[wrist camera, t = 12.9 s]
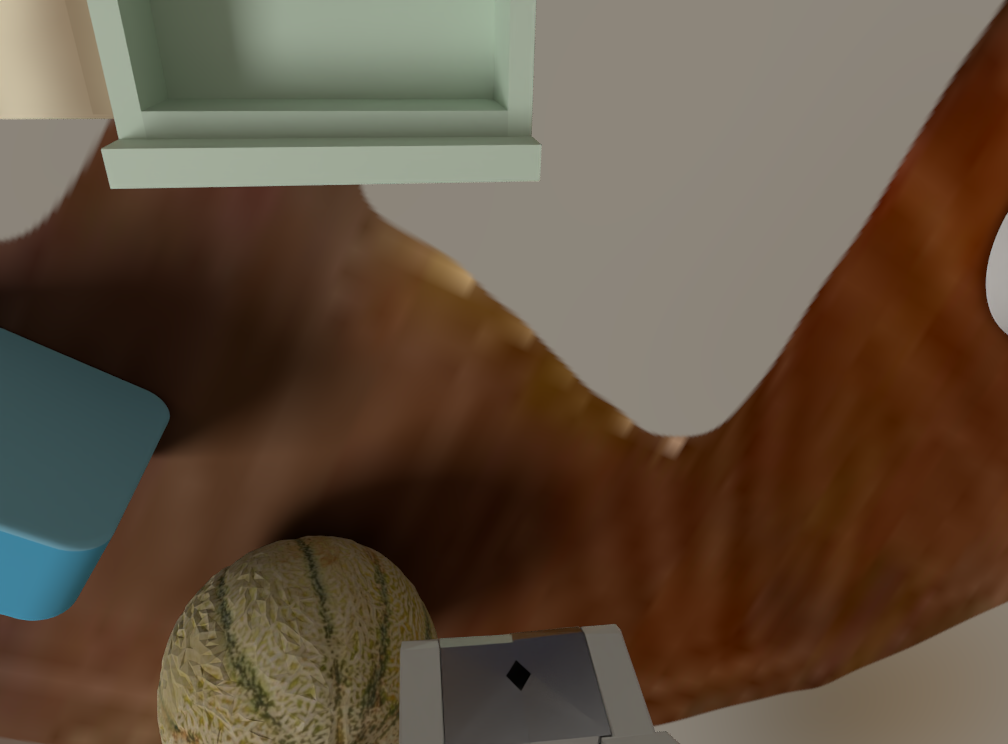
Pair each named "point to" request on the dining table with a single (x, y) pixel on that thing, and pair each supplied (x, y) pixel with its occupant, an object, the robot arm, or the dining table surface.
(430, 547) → the dining table surface
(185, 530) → the dining table surface
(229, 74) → the box
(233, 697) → the cantaloupe
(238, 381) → the dining table surface
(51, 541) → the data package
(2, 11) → the cover plate
